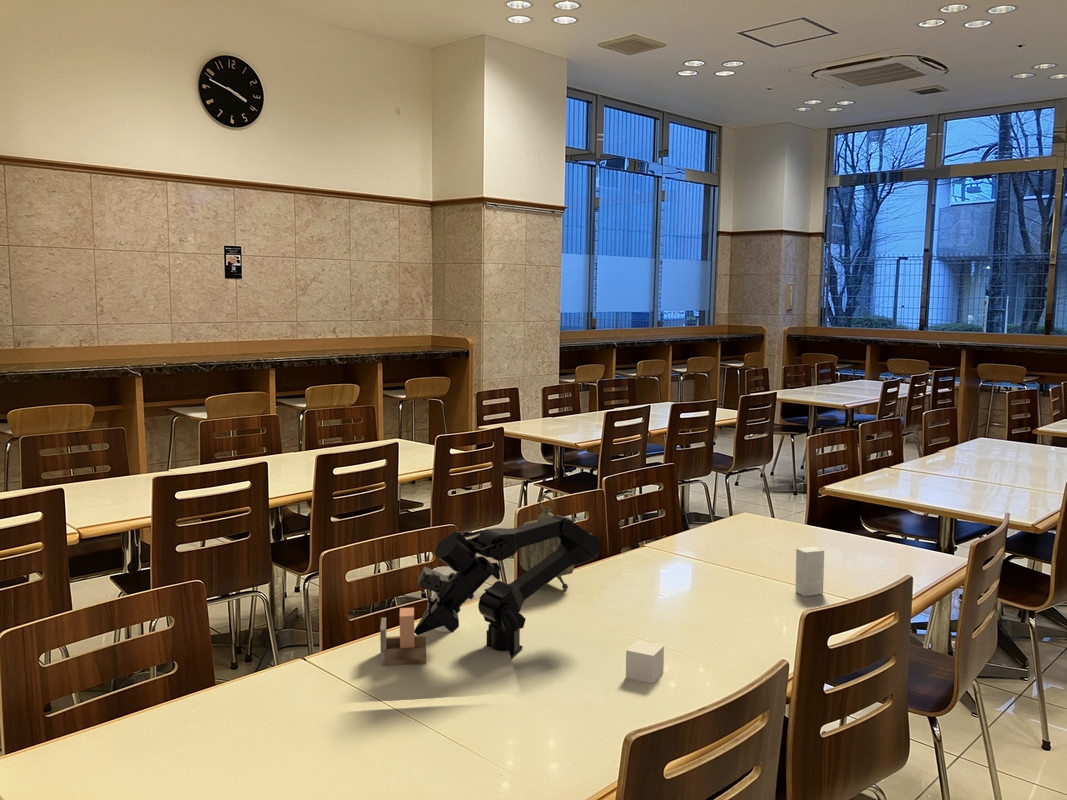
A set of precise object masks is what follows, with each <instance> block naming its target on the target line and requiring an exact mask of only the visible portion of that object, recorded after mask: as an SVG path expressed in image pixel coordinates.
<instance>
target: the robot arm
mask: <svg viewBox="0 0 1067 800" xmlns="http://www.w3.org/2000/svg"><path fill="white" fill-rule="evenodd" d="M522 525H523V524H522ZM522 525H520V526H516V527H512V528H504V527H503V528H501V527H496V528H485V529H483V530H481V531H480V532H479V534H478V535H476V536H474V537H471V538H469V539H467V538H466V537H465V536H464V534H462V533H461V532H460V531H457V530H454V531H452V533H451V534H449V535H447V536H446V537H443V539H441V540H440V541H439V542H438V544H437V545H436V547H435V550H434V552H435V553H434V554H435V556H436V558H437V559H439V560H440V561H441V562H443V563H444V564H445V565H446V566H449V567H450V568H451V569H453V570H454V571H456V573H454V572H453V573H450V574H449V575H448V576H445V575H443V574H441V573H439V572H437V571H434V570H433V569H431V568H429V567H426V566H424V567H423V568H422V570H421V572H420V575H419V577H418V579H417V586H418V587H420V588H422V589H427V590H428V591H429V592H432V591H434V592H435V595H434V596H433V597H431V596H430V595H427V607H426V609H425V611H424V613H423V615H422V616H421V618H420V620H419V621H418V623H417V625H416V627H414V635H415V634H416V635H423V634H426V633H427V632H430V631H432V630H436V629H435V628H438V627H441V626H445V627H446V628H447V629H448V630H449V631H450V632H449V633H451V634H453V633H454V632H455V631H456V630H457V629H458V628H459V626H460V620H459V614H458V612H461V607H462V606H463V604H465V603H466V601H468V599H469V600H472V599H474V597H475V592H476V591H477V590H478V589H479V588H480V587H482V585H483V584H484V583H485V582H486V581H487V580H489V578H490V577H491V576H492V577H494V578H495V579H496V581H495V582H494V583H493V584H492V585H491V586H489V587H487V588H485V589H484V592H483V593H482V594H481V595H480V596H479V600H478V611H479V613H480V615H482V616H483V618H484V619H483V620H484V622H487V623H489V624H488V629H487V630H486V646H487V647H488V648H490V649H493V651H494V650H495V651H497V652H509V657H510V659H513V658H514V657H515V656H516V655H517V654H519V652H520V651H522V649H523V647H524V646H523V645H521V643H520V641H521V640H520V639H521V638H520V637H521V635H520V633H521V632H520V631H521V629H523V628H524V627H525V624H526V620H527V619H526V617H524V615H522V613H520V612H521V610H522V608H523V605H524V602H525V601H526V600H528V599H529V598H530V597H532V595H534V594H535V593H536V592H538V591H540V590H541V589H542V588H543V587H545V586H546V585H548V584H549V583H550V582H551V581H552V580H554V579H555V578H557V576H558V575H559V574H561V573H562V572H563V571H565V570H566V569H567V568H569V567H570V566H573V565H574V566H577V565H582V564H584V563H587V562H589V561H591V560H593V559H595V558H596V557H597V556H598V555H599V553H600V549H601V540H600V538H599V537H598V536H597V534H594V533H591V532H588V531H586V530H585V529H583V528H582V527H580V526H579V525H578V524H576V522H574V521H573V520H572V519H571V518H569V517H566V516H563V515H560V514H555V515H554V516H552V517H551V518H548V519H544V520H541V521H537V522H534V523H530V524H527V525H523V526H522ZM555 537H558V538H559V539H560V540H561V541H560V544H559V546H558V549H557V550H556V551H555V552H553V553H552V554H550V555H549V556H548V557H546V558H545V559H544V560H542V561H541V562H539V563H538V564H537V565H535V566H534V567H533V568H531V569H530V570H528V571H525V572H523V574H522V575H520V576H519V577H517V578H515V580H513V581H512V582H510V583H506V582H503V581H502V580H501V566H500V565H499V564H498V563H499V562H500V561H504V560H506V559H508V558H510V557H513V556H514V555H515V554H516V553H518V551H519V549H520V548H522V547H525V546H528V545H531V544H535V543H538V542H541V541H545V540H548V539H551V538H555ZM477 554H478V555H480V556H477ZM487 558H490V559H492V560H495V561H499V562H491V561H489V560H488V559H487ZM453 610H454V611H455V612H456V613H457V614H458V615H457V614H456V613H455V612H454V611H453Z"/></svg>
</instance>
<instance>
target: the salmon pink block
mask: <svg viewBox="0 0 1067 800" xmlns="http://www.w3.org/2000/svg"><path fill="white" fill-rule="evenodd" d="M414 630H415V607H399V636H400V648H415V644H414V635H415V633H414Z"/></svg>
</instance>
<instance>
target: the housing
mask: <svg viewBox="0 0 1067 800" xmlns="http://www.w3.org/2000/svg"><path fill="white" fill-rule="evenodd" d="M380 620H381V621H380V630H379V631H380V632H379V633H380V634H379V635H380V639H379V641H380V666H385V667H389V666H390V667H391V666H393V667H394V666H406V665H409V666H411V665H423V664H424V665H427V645H426V640H427V639H426V634H420V635H415V634H414V644H415V648H400V635H397V636H387V617H381V619H380Z"/></svg>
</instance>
